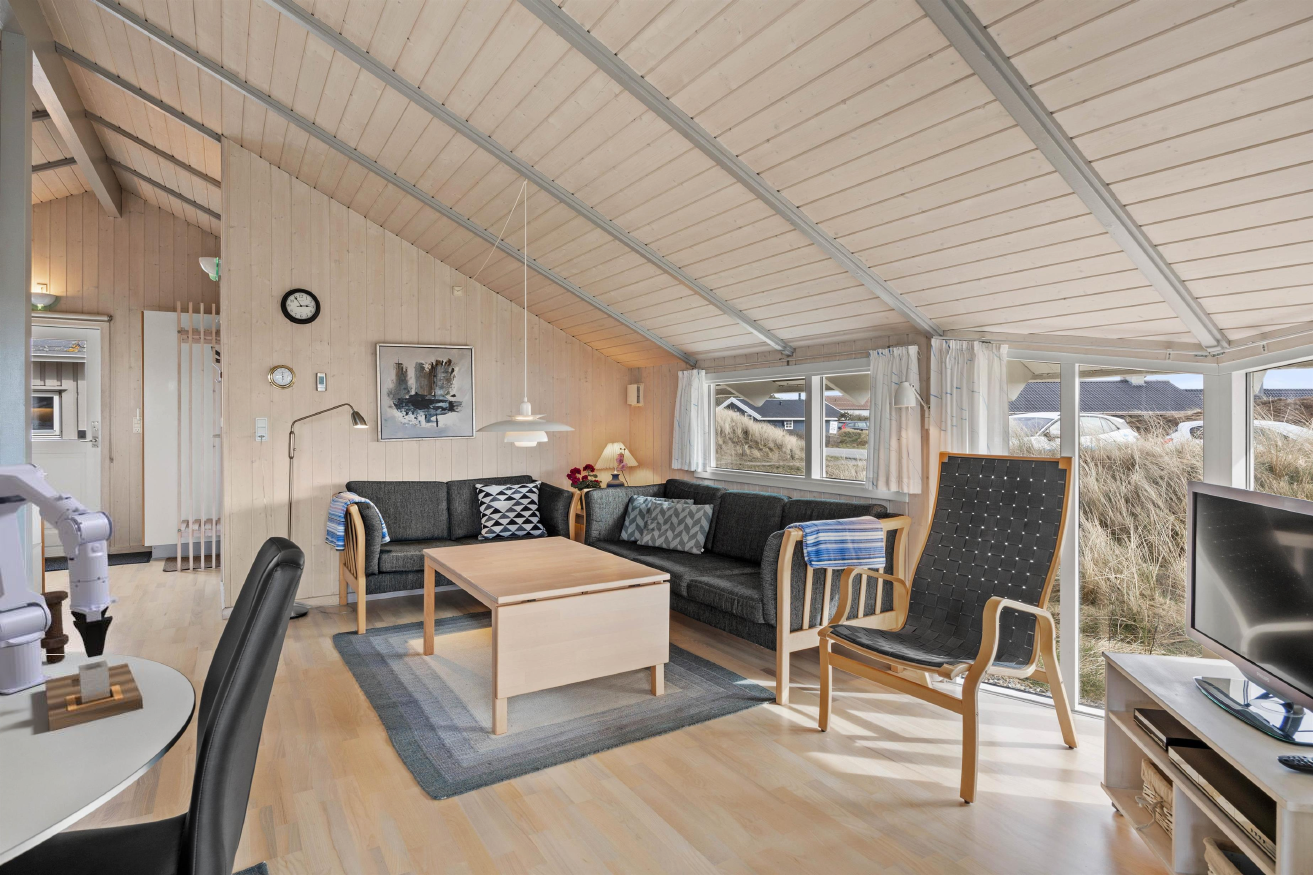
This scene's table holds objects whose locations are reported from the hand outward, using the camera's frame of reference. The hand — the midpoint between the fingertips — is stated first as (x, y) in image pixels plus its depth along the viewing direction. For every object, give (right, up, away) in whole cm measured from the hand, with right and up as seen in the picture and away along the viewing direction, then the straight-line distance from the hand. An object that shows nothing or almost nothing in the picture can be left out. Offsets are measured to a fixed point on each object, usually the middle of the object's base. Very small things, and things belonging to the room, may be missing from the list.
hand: (93, 650), depth 134 cm
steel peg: (+2, -10, -2) cm, 10 cm away
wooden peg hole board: (-2, -10, +2) cm, 10 cm away
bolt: (-26, -9, +23) cm, 36 cm away
